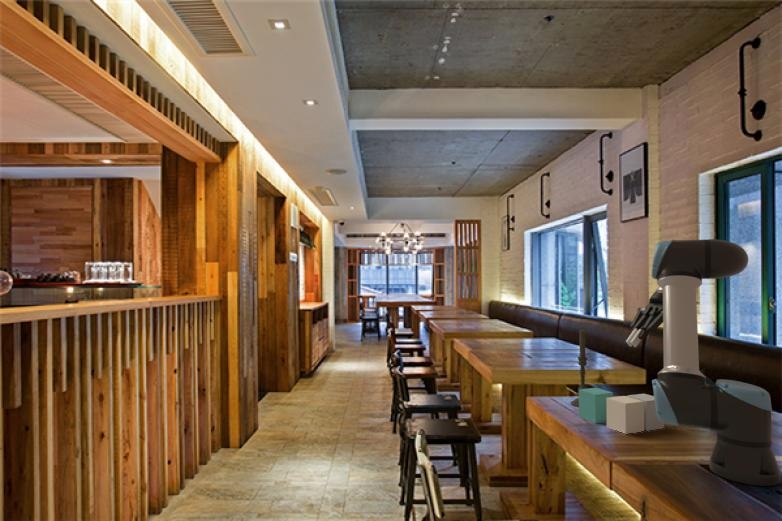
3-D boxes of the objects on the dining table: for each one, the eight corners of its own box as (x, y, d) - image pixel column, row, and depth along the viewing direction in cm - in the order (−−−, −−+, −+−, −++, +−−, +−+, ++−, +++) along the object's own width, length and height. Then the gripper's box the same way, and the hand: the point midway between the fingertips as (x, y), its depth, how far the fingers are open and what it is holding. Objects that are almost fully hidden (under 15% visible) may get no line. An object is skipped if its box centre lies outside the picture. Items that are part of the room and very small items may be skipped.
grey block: (644, 422, 176) (644, 393, 176) (664, 429, 168) (664, 398, 169) (627, 424, 173) (626, 395, 173) (646, 431, 165) (646, 401, 166)
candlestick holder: (599, 404, 199) (598, 328, 200) (589, 409, 193) (589, 330, 193) (576, 400, 205) (575, 326, 206) (566, 404, 199) (566, 328, 200)
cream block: (624, 425, 173) (624, 395, 173) (644, 432, 165) (643, 401, 165) (606, 427, 170) (606, 397, 170) (625, 434, 162) (625, 403, 162)
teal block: (596, 415, 185) (596, 387, 185) (613, 421, 177) (613, 392, 177) (579, 417, 182) (578, 389, 182) (595, 423, 174) (595, 394, 175)
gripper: (686, 305, 184) (653, 354, 178) (652, 303, 198) (620, 348, 191) (675, 291, 182) (641, 339, 176) (642, 290, 196) (609, 335, 189)
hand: (630, 344), depth 184 cm, fingers closed
